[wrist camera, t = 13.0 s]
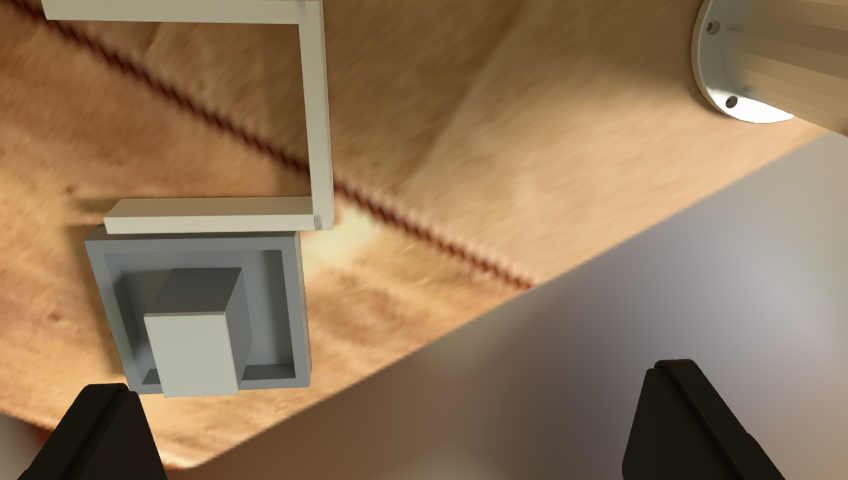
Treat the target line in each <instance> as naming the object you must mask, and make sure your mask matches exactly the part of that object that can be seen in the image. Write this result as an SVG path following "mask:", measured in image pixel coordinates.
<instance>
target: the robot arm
mask: <svg viewBox="0 0 848 480" xmlns="http://www.w3.org/2000/svg"><path fill="white" fill-rule="evenodd" d="M708 24H709V27H708V28H707V26H708ZM691 61H692V69H693V73H694V77H695V80H696V83H697V85H698V87H699V89H700V91H701V93H702V94H703V96H704V97H705V98H706V99H707V101H708V102H709V103H710V104H711V105H712V106H713V107H714V108H716V109H717V110H719V111H721V112H722V113H724V114H725V115H728V116H730V117H732V118H735V119H737V120H740V121H744V122H749V123H774V122H779V121H785V120H788V119H790V118H793V117H798V118H801V119H803V120H806V121H808V122H811V123H813V124H816V125H818V126H821V127H823V128H826V129H828V130H831V131H833V132H836V133H838V134H841V135H844V136H846V137H848V0H704V1H703V3H702V5H701V8H700V10H699V12H698V16H697V19H696V23H695V26H694V29H693V36H692V44H691ZM622 474H623V479H624V480H785V478H784V477H783V476H782V474H781V473H780V472H779V470H778V469H777V468H776V467H775V465H774V464H773V463H772V461H771V460H770V459H769V457H768V456H767V454H766V453H765V452H764V450H763V449H762V448H761V446H760V445H759V444H758V442H757V441H756V440H755V439H754V438H753V437H752V436H751V435H750V434H748V433H747V432H746V430H745V429H744V428H743V426H742V425H741V424H740V423H739V421H738V420H737V418H736V417H735V416H734V414H733V413H732V412H731V410H730V409H729V407H728V406H727V405H726V403H725V402H724V401H723V399H722V398H721V397H720V396H719V394H718V393H717V391H716V390H715V389H714V387H713V386H712V385H711V383H710V382H709V380H708V379H707V378H706V376H705V375H704V374H703V373H702V371H701V370H700V368H699V367H698V366H697V364H696V363H695V362H694V361H692V360H690V359H679V360H659V361H658V362H656V364H655V366H654V368H651V369H648V370H647V372H646V375H645V379H644V382H643V386H642V390H641V394H640V398H639V402H638V405H637V410H636V413H635V417H634V421H633V425H632V429H631V432H630V436H629V440H628V444H627V447H626V451H625V455H624V459H623V463H622ZM17 480H167V477H166V474H165V471H164V468H163V465H162V462H161V459H160V456H159V453H158V451H157V448H156V445H155V442H154V439H153V436H152V433H151V430H150V427H149V424H148V422H147V419H146V416H145V413H144V410H143V407H142V404H141V401H140V398H139V396H138V394H137V392H135V391H129V389H128V387H127V385H125V384H124V383H110V384H89V385H87V386H85V387H84V388H83V389H82V391H81V392H80V393H79V395H78V396H77V398H76V399H75V401H74V402H73V404H72V405H71V406H70V408H69V409H68V411H67V412H66V414H65V415H64V417H63V418H62V420H61V421H60V423H59V424H58V425H57V427H56V428H55V430H54V431H53V433H52V434H51V436H50V437H49V439H48V440H47V442H46V443H45V445H44V446H43V447H42V449H41V450H40V452H39V453H38V455H37V456H36V458H35V459H34V461H33V462H32V463H31V465H30V466H29V468H28V469H27V470H25V471H24V472H23V473H22V475H21V476H20V477H19V478H18V479H17Z"/></svg>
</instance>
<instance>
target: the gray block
mask: <svg viewBox="0 0 848 480" xmlns="http://www.w3.org/2000/svg"><path fill="white" fill-rule="evenodd" d="M144 321H145V325H146V329H147V333H148V336H149V340H150V344H151V348H152V352H153V355H154V359H155V363H156V367H157V371H158V374H159V378H160V382H161V386H162V389H163V393H164V397H189V396H214V395H237V394H238V391H239V387H240V384H241V380H242V377H243V374H244V370H245V367H246V363H247V360H248V357H249V353H250V350H251V346H252V343H253V337H252V330H251V324H250V317H249V310H248V303H247V297H246V290H245V283H244V277H243V270H242V267H230V268H175V269H172V271H171V273H170V274H169V276H168V277H167V279H166V281H165V282H164V284H163V286H162V287H161V289H160V291H159V292H158V294H157V296H156V297H155V299H154V300H153V302H152V304H151V305H150V307H149V309H148V310H147V312H146V314H145V315H144Z"/></svg>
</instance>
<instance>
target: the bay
mask: <svg viewBox="0 0 848 480" xmlns="http://www.w3.org/2000/svg"><path fill="white" fill-rule="evenodd" d="M41 1H42V5H43V8H44V12H45V15H46V19H47V20H97V21H154V22H210V23H266V24H299V35H300V48H301V61H302V74H303V87H304V100H305V112H306V125H307V138H308V151H309V164H310V177H311V189H312V197H228V198H141V199H121V200H120V201H119V202H118V203H117V204H116V205H115V206H114V207H113V208H112V209H111V210H110V211H109V212H108V213H107V214H106V215H105V216H104V217H103V219H104V223H105V226H106V230H107V233H108V234H129V233H187V232H245V231H303V230H332V229H333V221H334V213H335V206H334V189H333V171H332V154H331V136H330V118H329V101H328V83H327V66H326V48H325V30H324V13H323V0H41Z"/></svg>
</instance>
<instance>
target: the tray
mask: <svg viewBox="0 0 848 480" xmlns="http://www.w3.org/2000/svg"><path fill="white" fill-rule="evenodd" d="M84 244H85V248H86V251H87V254H88V257H89V260H90V264H91V267H92V270H93V273H94V277H95V280H96V283H97V286H98V289H99V293H100V296H101V299H102V302H103V305H104V309H105V312H106V315H107V318H108V321H109V325H110V328H111V331H112V334H113V338H114V341H115V344H116V347H117V350H118V354H119V357H120V360H121V363H122V366H123V370H124V373H125V376H126V379H127V383H128V386H129V389H130V391H135V392H137V394H160V393H163V389H162V386H161V382H160V378H159V374H158V371H157V367H156V363H155V359H154V355H153V352H152V348H151V344H150V340H149V336H148V333H147V329H146V325H145V321H144V315H145V314H146V312H147V310H148V309H149V307H150V305H151V304H152V302H153V300H154V299H155V297H156V296H157V294H158V292H159V291H160V289H161V287H162V286H163V284H164V282H165V281H166V279H167V277H168V276H169V274H170V273H171V271H172V269H175V268H230V267H242V270H243V277H244V283H245V290H246V297H247V303H248V310H249V317H250V324H251V330H252V337H253V343H252V346H251V350H250V353H249V357H248V360H247V363H246V367H245V370H244V374H243V377H242V380H241V384H240V387H239V390H252V389H274V388H297V387H309V385H310V378H311V370H312V362H311V352H310V341H309V330H308V320H307V309H306V298H305V287H304V277H303V266H302V255H301V245H300V234H299V231H245V232H187V233H129V234H108V233H107V230H106V226H105V225H98V226H97V227H96V228H95V229H94V230H93V231H92V232H91V233H90V234H89V235H88V236H87V238H86V239H85V240H84Z"/></svg>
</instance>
